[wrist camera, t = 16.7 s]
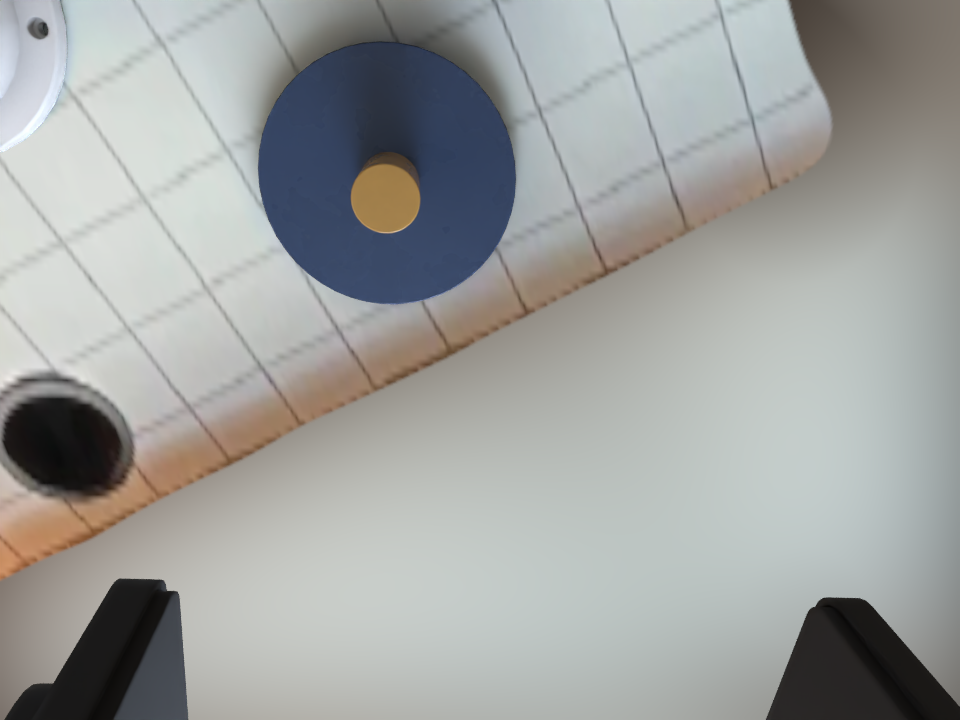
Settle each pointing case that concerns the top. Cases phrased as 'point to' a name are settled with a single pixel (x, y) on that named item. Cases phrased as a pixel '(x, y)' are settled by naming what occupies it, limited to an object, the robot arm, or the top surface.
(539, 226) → the top surface
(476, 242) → the tin lid
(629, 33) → the top surface
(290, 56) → the top surface
